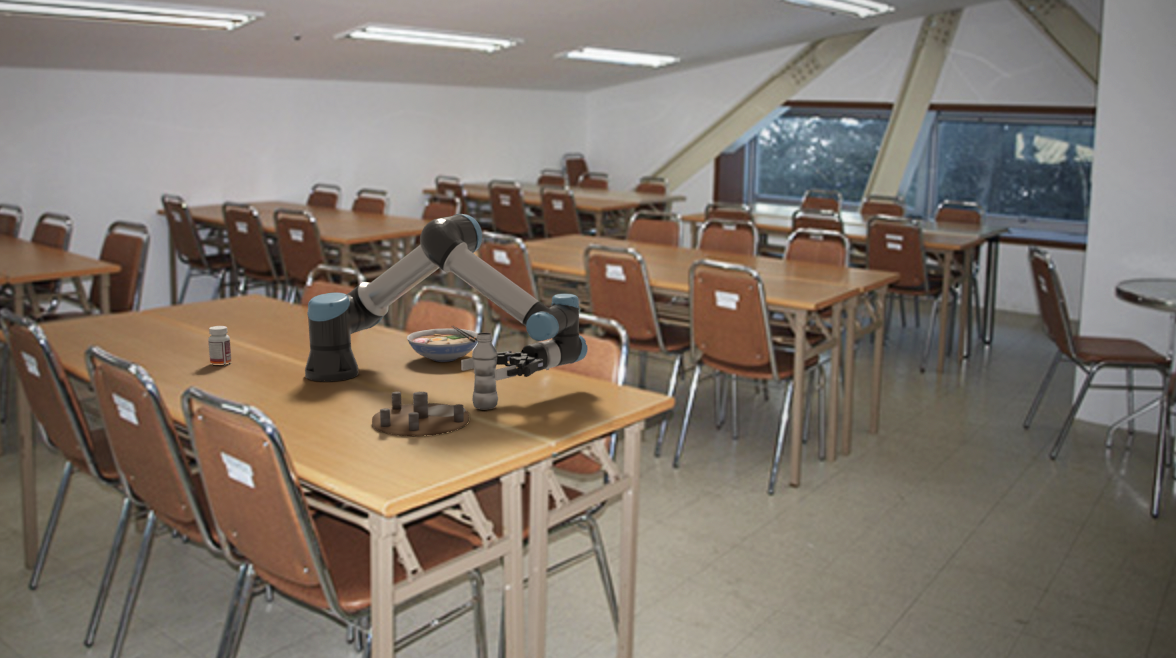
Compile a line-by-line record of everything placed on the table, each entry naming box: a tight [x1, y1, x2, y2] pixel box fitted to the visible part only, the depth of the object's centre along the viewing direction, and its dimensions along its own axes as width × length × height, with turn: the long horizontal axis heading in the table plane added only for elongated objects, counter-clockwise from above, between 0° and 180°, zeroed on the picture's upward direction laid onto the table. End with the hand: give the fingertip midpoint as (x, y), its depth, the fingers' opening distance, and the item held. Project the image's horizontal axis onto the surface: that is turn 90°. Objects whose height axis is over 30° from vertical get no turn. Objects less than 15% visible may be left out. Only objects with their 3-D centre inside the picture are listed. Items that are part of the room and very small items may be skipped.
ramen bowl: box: [406, 325, 479, 363], centre depth 317 cm, size 25×23×8 cm
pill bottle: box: [207, 325, 232, 364], centre depth 310 cm, size 6×6×11 cm
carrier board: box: [371, 391, 470, 437], centre depth 255 cm, size 24×24×7 cm
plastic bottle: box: [471, 331, 499, 410], centre depth 264 cm, size 6×7×20 cm
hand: (478, 370), depth 263 cm, fingers open, 13 cm apart
